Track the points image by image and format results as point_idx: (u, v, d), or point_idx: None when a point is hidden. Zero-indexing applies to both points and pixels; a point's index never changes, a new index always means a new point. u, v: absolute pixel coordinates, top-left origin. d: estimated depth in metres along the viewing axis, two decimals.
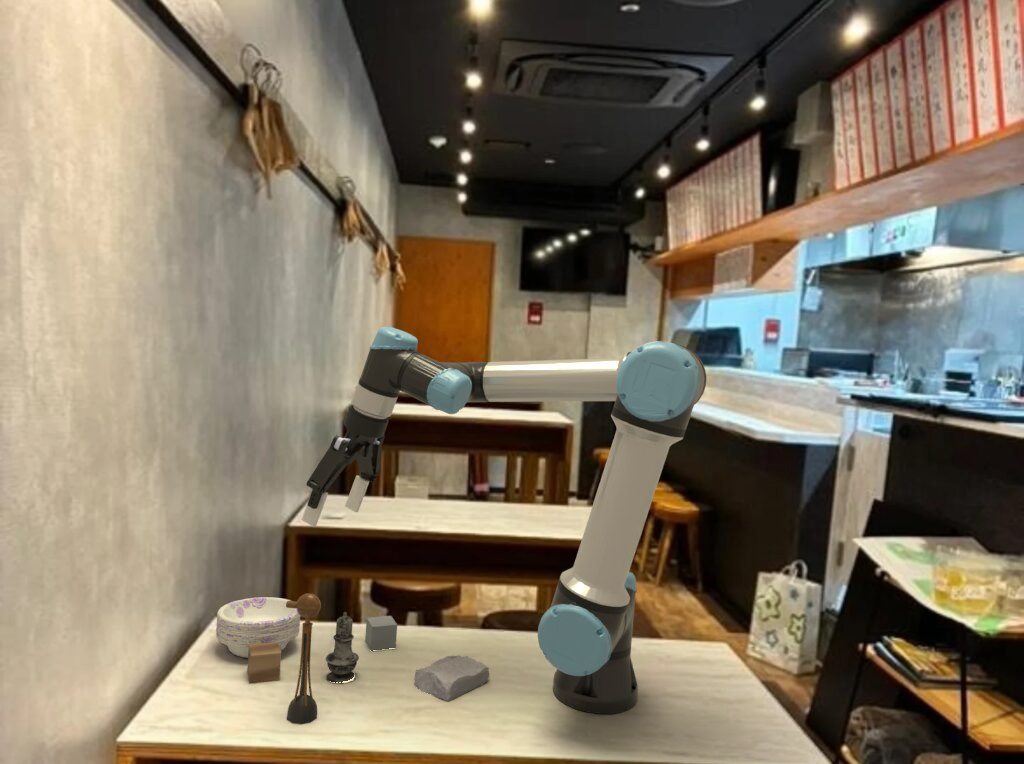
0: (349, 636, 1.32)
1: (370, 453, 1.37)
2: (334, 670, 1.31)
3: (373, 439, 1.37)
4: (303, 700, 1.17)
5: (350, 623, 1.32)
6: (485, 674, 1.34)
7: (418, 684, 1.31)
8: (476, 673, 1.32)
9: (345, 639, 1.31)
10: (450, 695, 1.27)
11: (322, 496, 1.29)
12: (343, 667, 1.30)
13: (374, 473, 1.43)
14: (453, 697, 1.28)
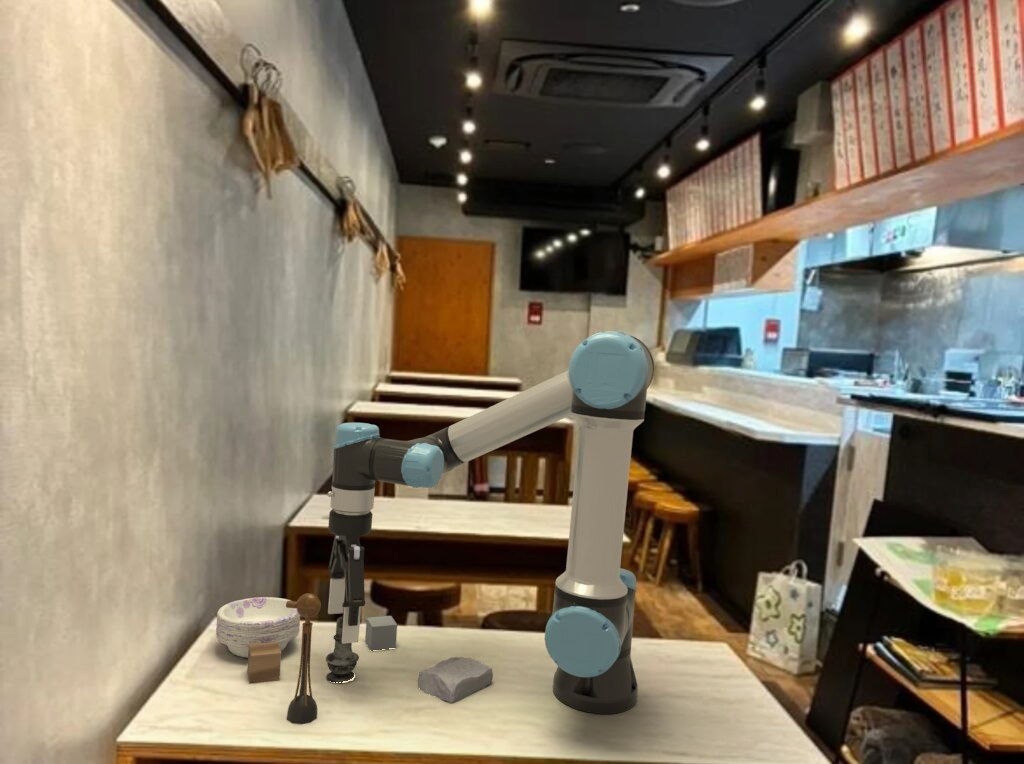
0: None
1: None
2: (334, 670, 1.31)
3: None
4: (303, 700, 1.17)
5: None
6: (488, 676, 1.33)
7: (422, 686, 1.30)
8: (480, 675, 1.32)
9: None
10: (454, 697, 1.26)
11: None
12: (343, 667, 1.30)
13: None
14: (457, 699, 1.27)
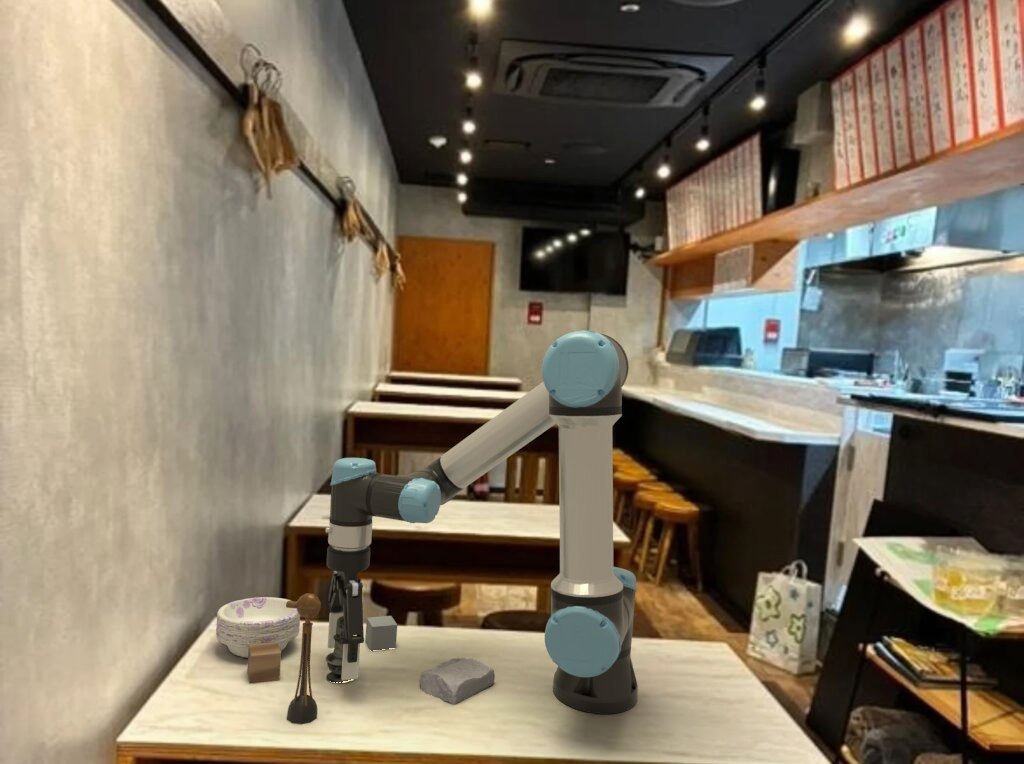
0: None
1: None
2: (334, 670, 1.31)
3: None
4: (303, 700, 1.17)
5: None
6: (490, 676, 1.33)
7: (424, 687, 1.30)
8: (482, 676, 1.31)
9: None
10: (456, 698, 1.26)
11: None
12: None
13: None
14: (459, 700, 1.27)
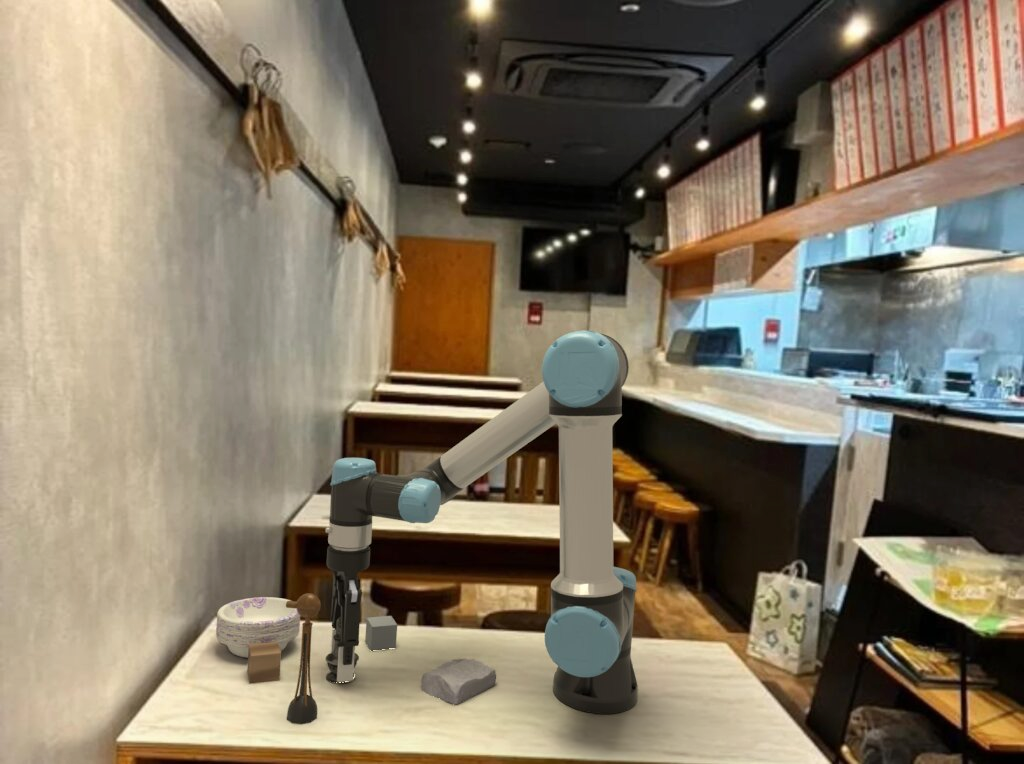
0: None
1: None
2: (334, 670, 1.31)
3: None
4: (303, 700, 1.17)
5: None
6: (492, 677, 1.33)
7: (425, 688, 1.30)
8: (484, 676, 1.31)
9: None
10: (458, 699, 1.26)
11: None
12: None
13: None
14: (461, 701, 1.27)
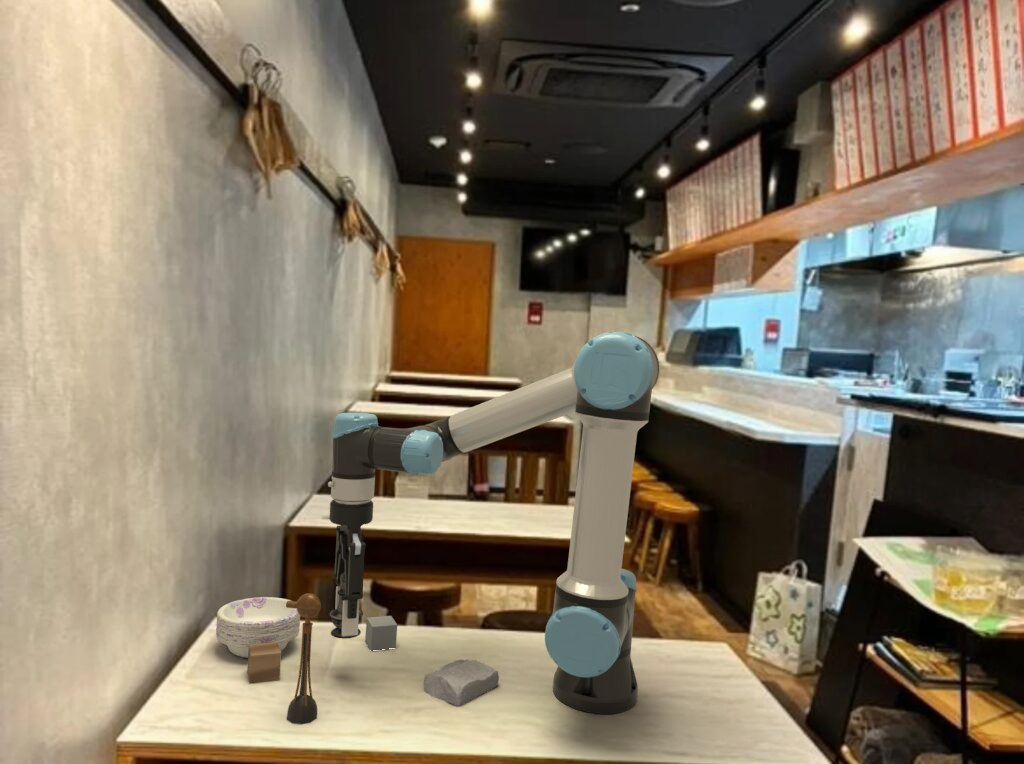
0: None
1: None
2: (338, 625, 1.30)
3: None
4: (303, 700, 1.17)
5: None
6: (494, 678, 1.33)
7: (427, 689, 1.29)
8: (486, 677, 1.31)
9: None
10: (460, 700, 1.25)
11: (356, 603, 1.29)
12: None
13: None
14: (463, 702, 1.26)
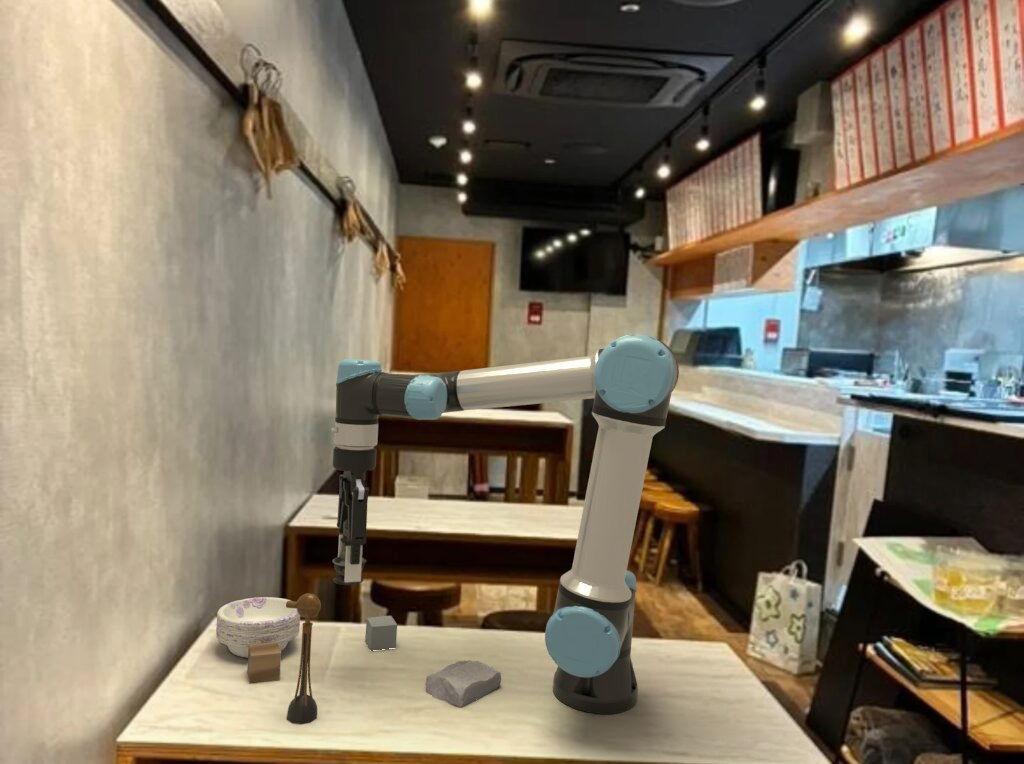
0: None
1: None
2: (341, 571, 1.30)
3: None
4: (303, 700, 1.17)
5: None
6: (497, 679, 1.32)
7: (430, 690, 1.29)
8: (488, 678, 1.30)
9: None
10: (463, 701, 1.25)
11: (359, 549, 1.29)
12: None
13: None
14: (466, 703, 1.26)
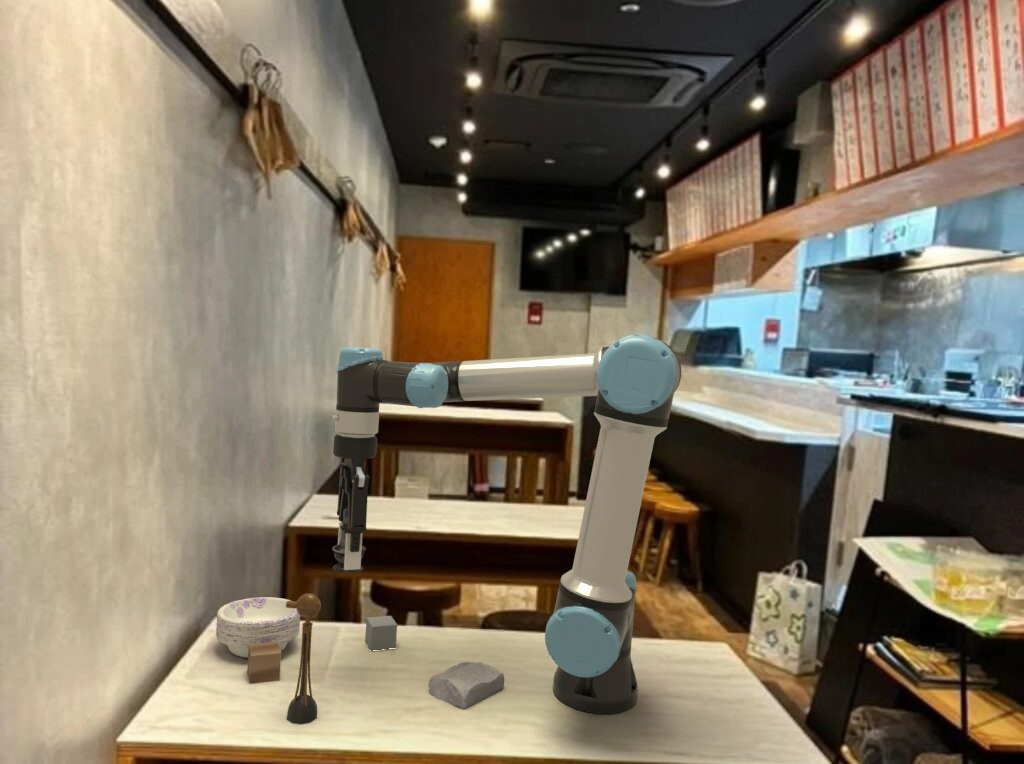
0: None
1: None
2: (341, 559, 1.30)
3: None
4: (303, 700, 1.17)
5: None
6: (500, 681, 1.32)
7: (433, 691, 1.28)
8: (492, 680, 1.30)
9: None
10: (466, 703, 1.25)
11: (359, 537, 1.29)
12: None
13: None
14: (469, 705, 1.25)
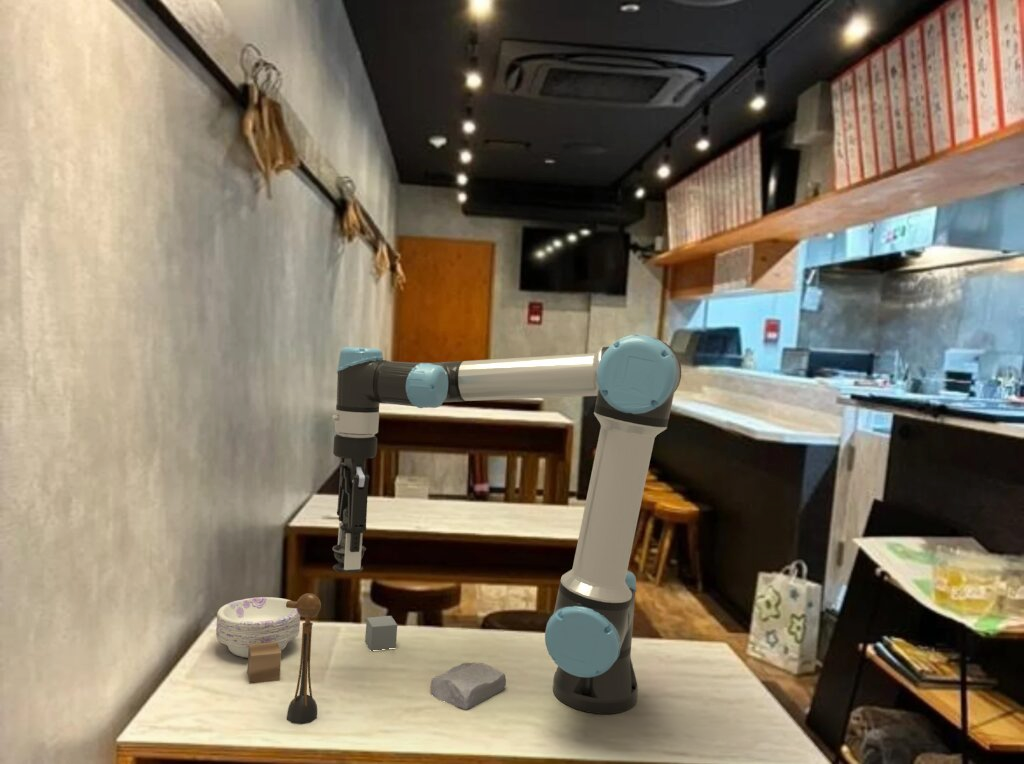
0: None
1: None
2: (341, 559, 1.30)
3: None
4: (303, 700, 1.17)
5: None
6: (502, 681, 1.32)
7: (435, 692, 1.28)
8: (493, 680, 1.30)
9: None
10: (468, 704, 1.24)
11: (359, 537, 1.29)
12: None
13: None
14: (471, 705, 1.25)
